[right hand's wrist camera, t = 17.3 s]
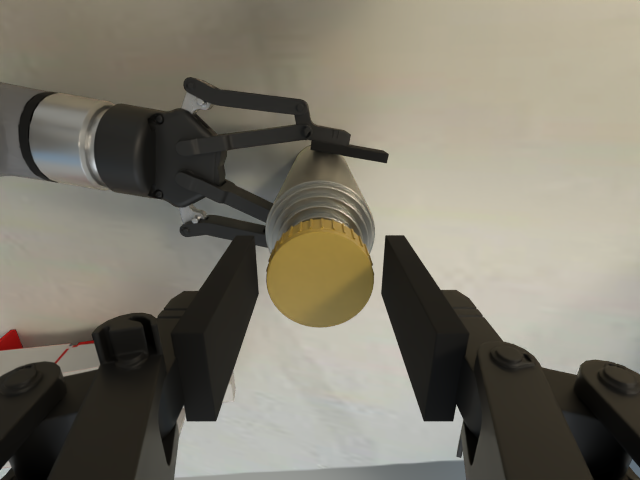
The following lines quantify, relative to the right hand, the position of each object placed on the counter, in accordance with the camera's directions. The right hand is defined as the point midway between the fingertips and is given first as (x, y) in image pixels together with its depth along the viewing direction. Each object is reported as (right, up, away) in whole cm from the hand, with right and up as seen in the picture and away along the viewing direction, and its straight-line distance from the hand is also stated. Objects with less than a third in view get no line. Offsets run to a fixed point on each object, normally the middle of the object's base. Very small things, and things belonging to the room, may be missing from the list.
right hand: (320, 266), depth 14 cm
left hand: (+5, +5, +17) cm, 18 cm away
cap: (0, 0, -1) cm, 1 cm away
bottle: (0, +8, +22) cm, 24 cm away
